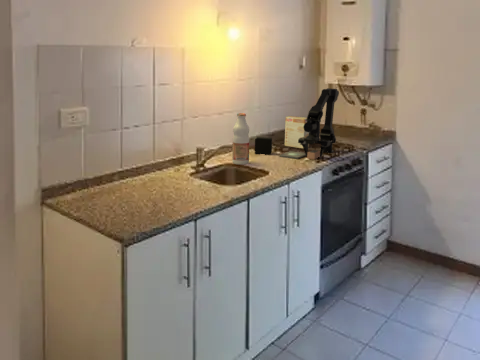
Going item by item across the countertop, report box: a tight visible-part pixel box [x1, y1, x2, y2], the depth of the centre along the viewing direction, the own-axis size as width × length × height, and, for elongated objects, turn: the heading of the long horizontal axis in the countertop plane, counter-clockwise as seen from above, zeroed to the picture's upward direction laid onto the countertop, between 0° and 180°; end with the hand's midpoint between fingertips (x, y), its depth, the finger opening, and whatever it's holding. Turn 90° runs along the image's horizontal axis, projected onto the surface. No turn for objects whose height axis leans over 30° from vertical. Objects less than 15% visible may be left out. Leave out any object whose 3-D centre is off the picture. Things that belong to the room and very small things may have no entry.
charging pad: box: [278, 150, 307, 160], centre depth 322 cm, size 15×12×1 cm
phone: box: [306, 149, 321, 160], centre depth 318 cm, size 8×4×4 cm, turn 149°
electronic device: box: [254, 136, 273, 156], centre depth 325 cm, size 4×10×10 cm, turn 78°
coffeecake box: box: [284, 115, 310, 149], centre depth 350 cm, size 15×7×20 cm, turn 51°
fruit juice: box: [231, 112, 250, 165], centre depth 297 cm, size 9×9×28 cm
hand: (313, 155), depth 318 cm, fingers open, 9 cm apart
